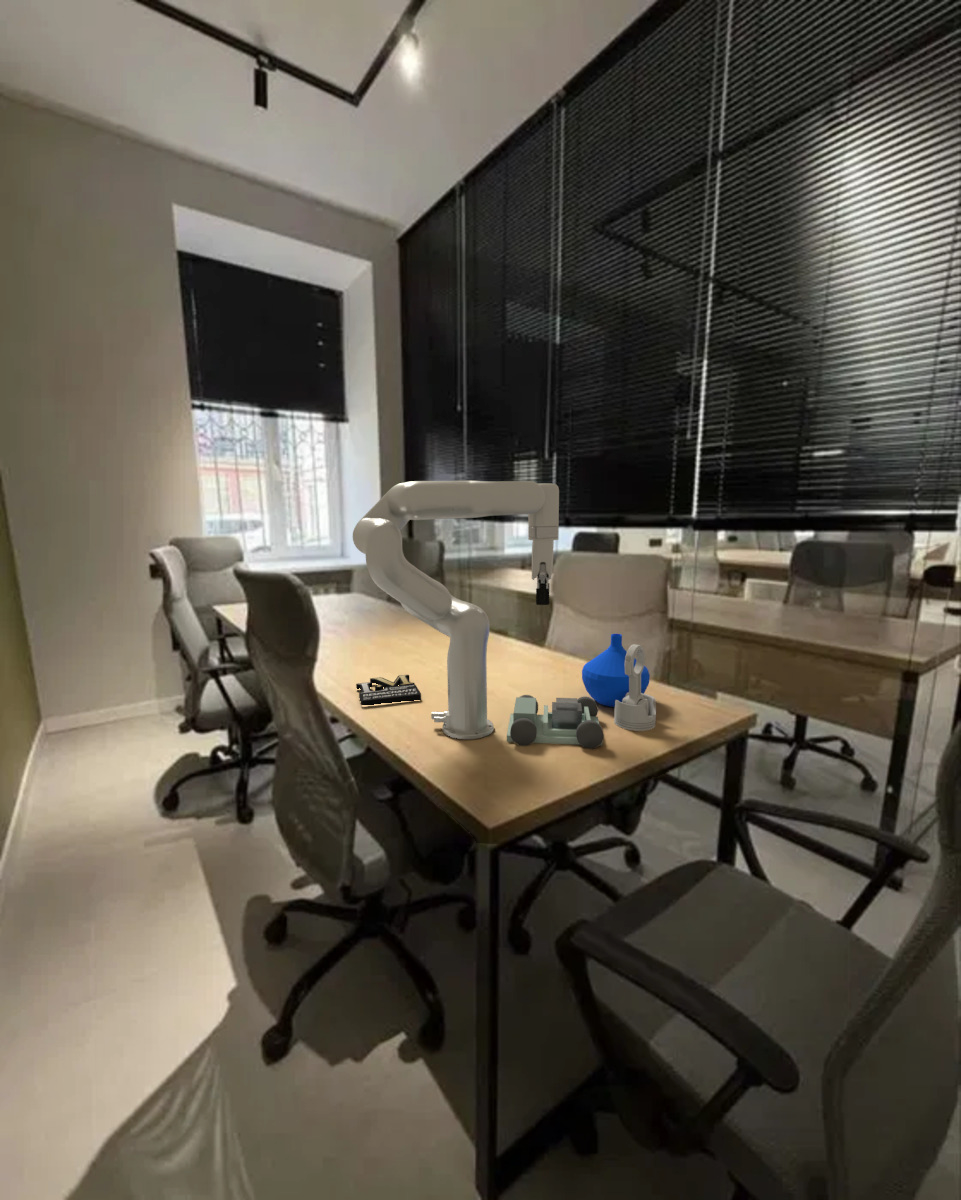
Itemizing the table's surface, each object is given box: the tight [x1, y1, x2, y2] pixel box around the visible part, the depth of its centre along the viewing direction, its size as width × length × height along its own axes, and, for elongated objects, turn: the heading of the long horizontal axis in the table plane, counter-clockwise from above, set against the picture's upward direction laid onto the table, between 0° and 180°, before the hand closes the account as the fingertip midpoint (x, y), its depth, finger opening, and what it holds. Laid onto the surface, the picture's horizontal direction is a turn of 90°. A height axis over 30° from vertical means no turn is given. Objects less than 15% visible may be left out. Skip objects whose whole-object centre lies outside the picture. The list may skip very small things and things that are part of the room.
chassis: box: [506, 694, 605, 749], centre depth 134 cm, size 22×18×6 cm
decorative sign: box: [355, 674, 422, 706], centre depth 164 cm, size 17×2×20 cm
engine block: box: [551, 697, 582, 729], centre depth 133 cm, size 7×6×6 cm
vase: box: [581, 633, 650, 708], centre depth 153 cm, size 18×18×19 cm
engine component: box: [613, 643, 657, 732], centre depth 137 cm, size 11×20×10 cm
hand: (542, 601), depth 140 cm, fingers open, 9 cm apart
